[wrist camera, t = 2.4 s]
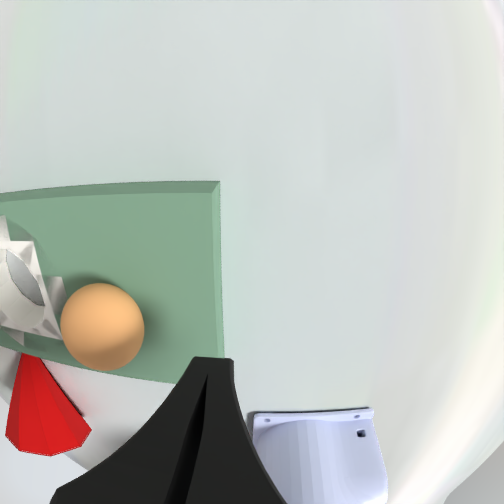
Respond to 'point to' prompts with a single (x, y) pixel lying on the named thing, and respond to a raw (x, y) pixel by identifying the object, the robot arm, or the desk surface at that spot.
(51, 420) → the gemstone
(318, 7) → the desk surface
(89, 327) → the ball
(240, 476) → the robot arm
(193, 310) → the green flat board
